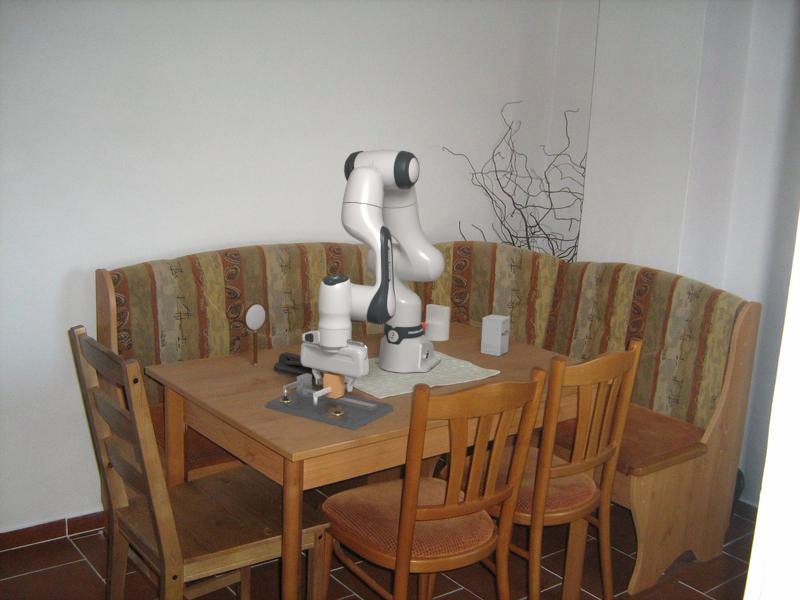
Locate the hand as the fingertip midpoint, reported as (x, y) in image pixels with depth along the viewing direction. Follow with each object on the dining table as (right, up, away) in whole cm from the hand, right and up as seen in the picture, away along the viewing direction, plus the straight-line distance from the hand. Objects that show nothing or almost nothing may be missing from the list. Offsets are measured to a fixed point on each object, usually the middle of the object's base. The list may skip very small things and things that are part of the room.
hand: (334, 387), depth 207 cm
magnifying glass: (-28, +2, +36) cm, 45 cm away
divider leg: (-2, -3, -2) cm, 4 cm away
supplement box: (+50, +5, +61) cm, 79 cm away
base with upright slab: (+31, +9, +79) cm, 85 cm away
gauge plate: (-1, -5, -2) cm, 6 cm away
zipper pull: (-10, 0, +27) cm, 29 cm away
